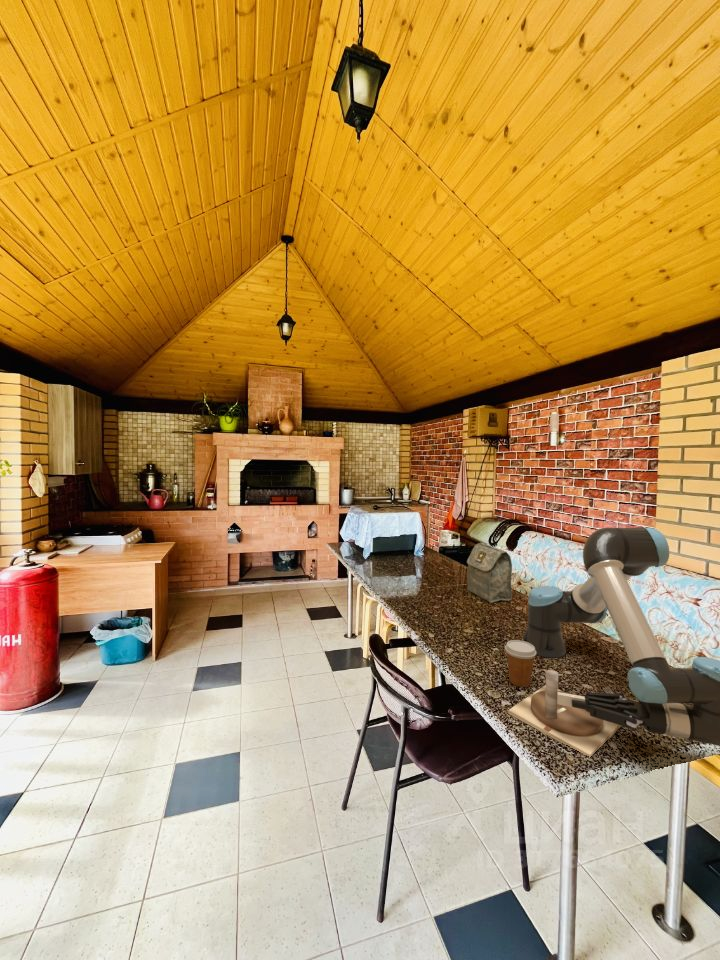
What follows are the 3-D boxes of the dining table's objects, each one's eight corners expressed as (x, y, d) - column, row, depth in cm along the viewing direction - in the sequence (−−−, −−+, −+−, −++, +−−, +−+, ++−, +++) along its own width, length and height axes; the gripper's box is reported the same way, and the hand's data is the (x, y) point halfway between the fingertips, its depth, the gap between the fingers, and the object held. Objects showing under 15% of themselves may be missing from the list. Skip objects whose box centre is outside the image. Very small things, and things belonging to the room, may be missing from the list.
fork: (650, 726, 110) (651, 719, 110) (602, 693, 126) (602, 687, 126) (658, 724, 111) (658, 717, 111) (608, 692, 126) (608, 686, 126)
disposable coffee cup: (510, 670, 138) (510, 636, 138) (539, 680, 132) (540, 645, 132) (499, 682, 131) (500, 646, 130) (530, 693, 125) (531, 656, 124)
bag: (463, 590, 223) (464, 541, 222) (488, 587, 228) (489, 540, 227) (487, 604, 202) (488, 550, 200) (514, 601, 207) (515, 548, 205)
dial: (556, 688, 125) (557, 646, 125) (616, 721, 110) (618, 673, 109) (517, 705, 117) (518, 660, 116) (576, 744, 101) (578, 692, 100)
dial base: (546, 687, 129) (546, 683, 129) (624, 722, 111) (624, 718, 111) (508, 713, 115) (508, 709, 115) (590, 758, 98) (590, 754, 98)
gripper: (672, 749, 94) (559, 726, 102) (653, 717, 106) (554, 698, 114) (673, 718, 93) (560, 697, 101) (654, 689, 105) (555, 672, 113)
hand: (557, 697), depth 108 cm, fingers closed
